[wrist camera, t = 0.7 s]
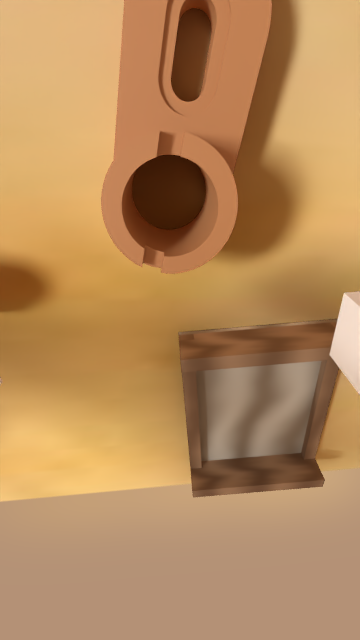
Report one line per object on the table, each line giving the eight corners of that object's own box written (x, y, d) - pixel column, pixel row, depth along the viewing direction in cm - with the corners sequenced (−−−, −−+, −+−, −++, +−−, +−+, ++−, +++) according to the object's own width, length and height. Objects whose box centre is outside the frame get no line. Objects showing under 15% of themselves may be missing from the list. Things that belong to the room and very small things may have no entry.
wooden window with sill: (190, 465, 43) (193, 497, 39) (178, 332, 31) (180, 359, 27) (308, 455, 43) (322, 486, 39) (342, 318, 31) (367, 344, 27)
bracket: (206, 249, 27) (218, 281, 21) (113, 233, 26) (98, 262, 20) (277, -42, 18) (332, -128, 12) (137, -86, 17) (122, -205, 11)
